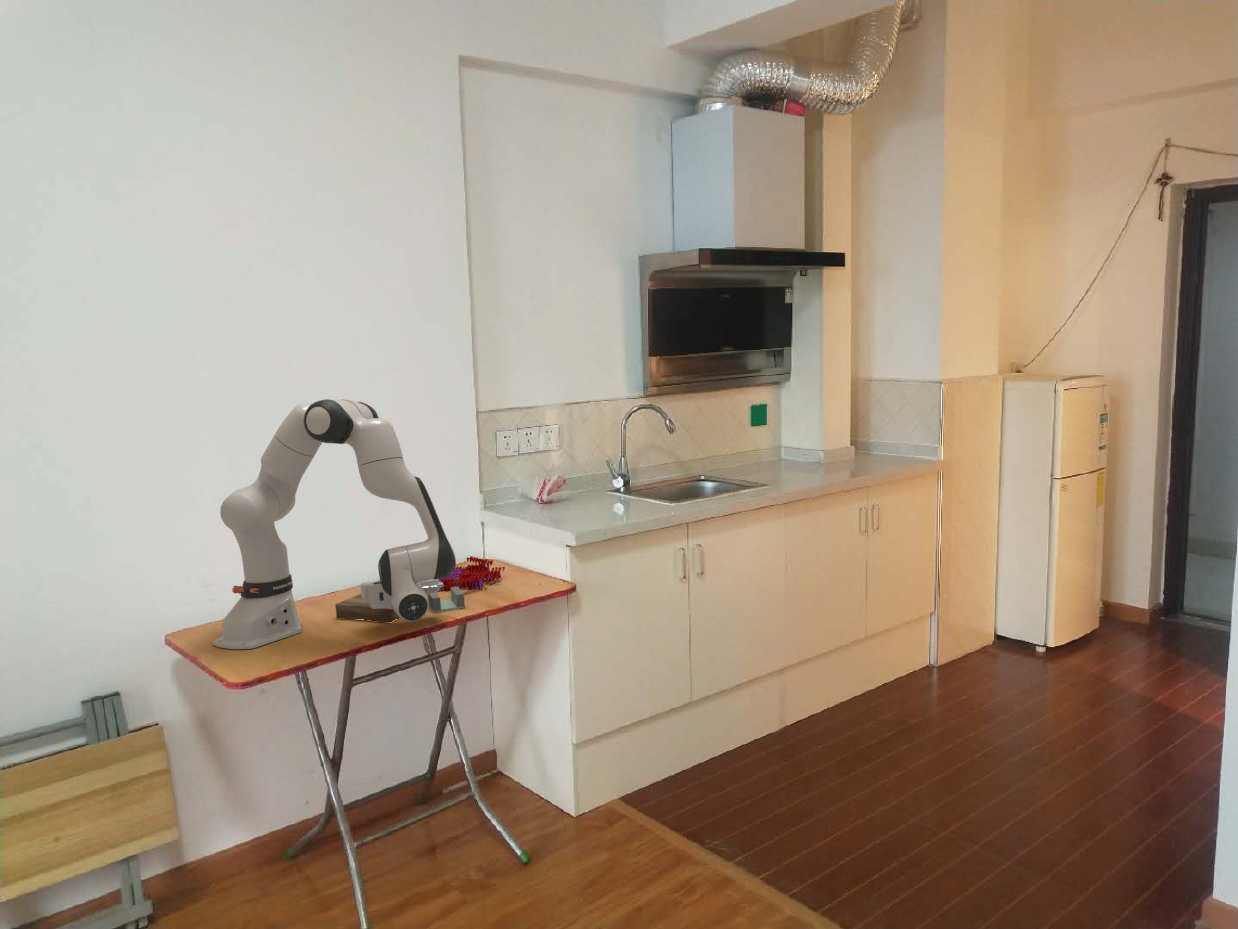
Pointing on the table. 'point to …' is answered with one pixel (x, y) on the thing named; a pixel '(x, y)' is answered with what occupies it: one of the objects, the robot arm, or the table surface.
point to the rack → (447, 601)
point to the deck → (363, 611)
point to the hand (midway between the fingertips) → (397, 580)
